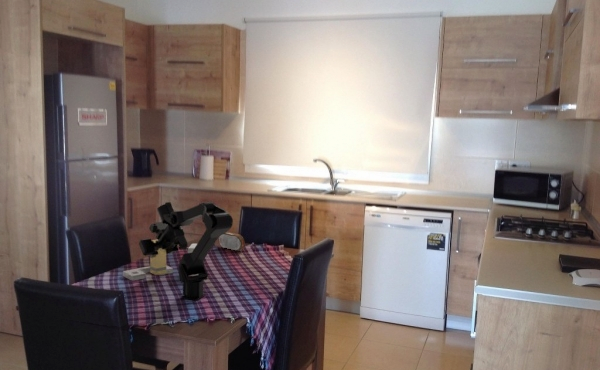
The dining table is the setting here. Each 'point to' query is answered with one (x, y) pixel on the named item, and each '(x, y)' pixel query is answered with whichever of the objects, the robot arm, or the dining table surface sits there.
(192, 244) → the ink box
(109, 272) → the dining table surface
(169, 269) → the bracket
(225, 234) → the bread slice
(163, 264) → the gold block
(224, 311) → the dining table surface
